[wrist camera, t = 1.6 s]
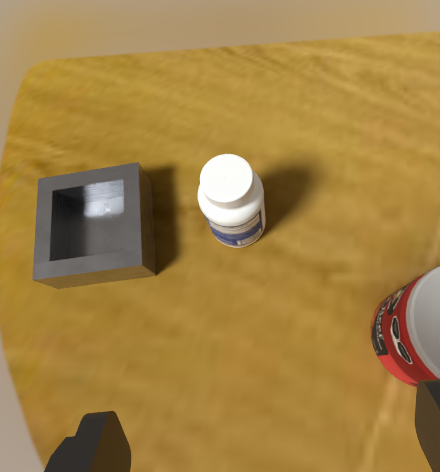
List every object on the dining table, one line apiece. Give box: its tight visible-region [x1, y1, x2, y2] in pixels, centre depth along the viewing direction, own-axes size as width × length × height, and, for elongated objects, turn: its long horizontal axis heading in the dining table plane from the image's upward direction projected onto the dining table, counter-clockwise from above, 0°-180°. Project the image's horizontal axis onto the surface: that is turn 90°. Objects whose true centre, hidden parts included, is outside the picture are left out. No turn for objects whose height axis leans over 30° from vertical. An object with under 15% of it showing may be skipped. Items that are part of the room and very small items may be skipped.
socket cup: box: [33, 163, 157, 289], centre depth 38 cm, size 10×10×4 cm
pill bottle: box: [198, 154, 266, 248], centre depth 33 cm, size 5×5×10 cm
